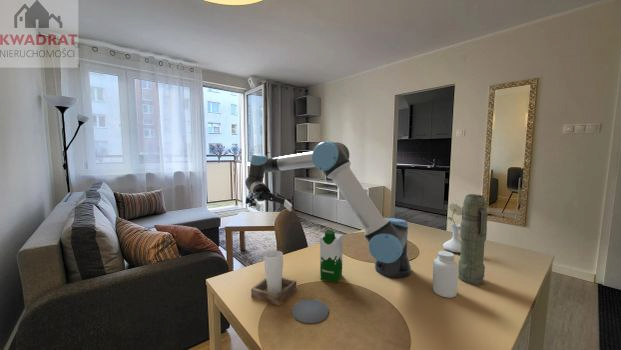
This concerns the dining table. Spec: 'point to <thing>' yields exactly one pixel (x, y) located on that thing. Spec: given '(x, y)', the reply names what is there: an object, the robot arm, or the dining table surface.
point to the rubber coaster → (310, 311)
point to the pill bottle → (445, 274)
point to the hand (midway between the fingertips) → (275, 208)
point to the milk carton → (331, 256)
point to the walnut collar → (270, 297)
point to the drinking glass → (274, 271)
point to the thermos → (473, 239)
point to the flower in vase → (454, 230)
